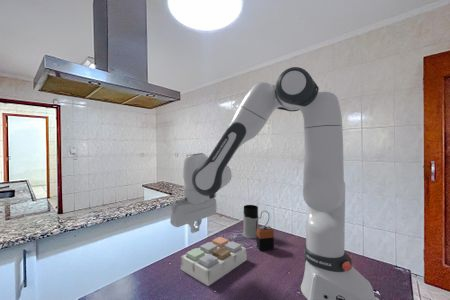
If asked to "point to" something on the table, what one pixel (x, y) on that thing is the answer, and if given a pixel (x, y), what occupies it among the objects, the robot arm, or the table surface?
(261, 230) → the battery
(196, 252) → the key sage
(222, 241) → the key terracotta
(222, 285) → the table surface
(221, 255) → the key walnut
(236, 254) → the keypad
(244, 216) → the glass holder
